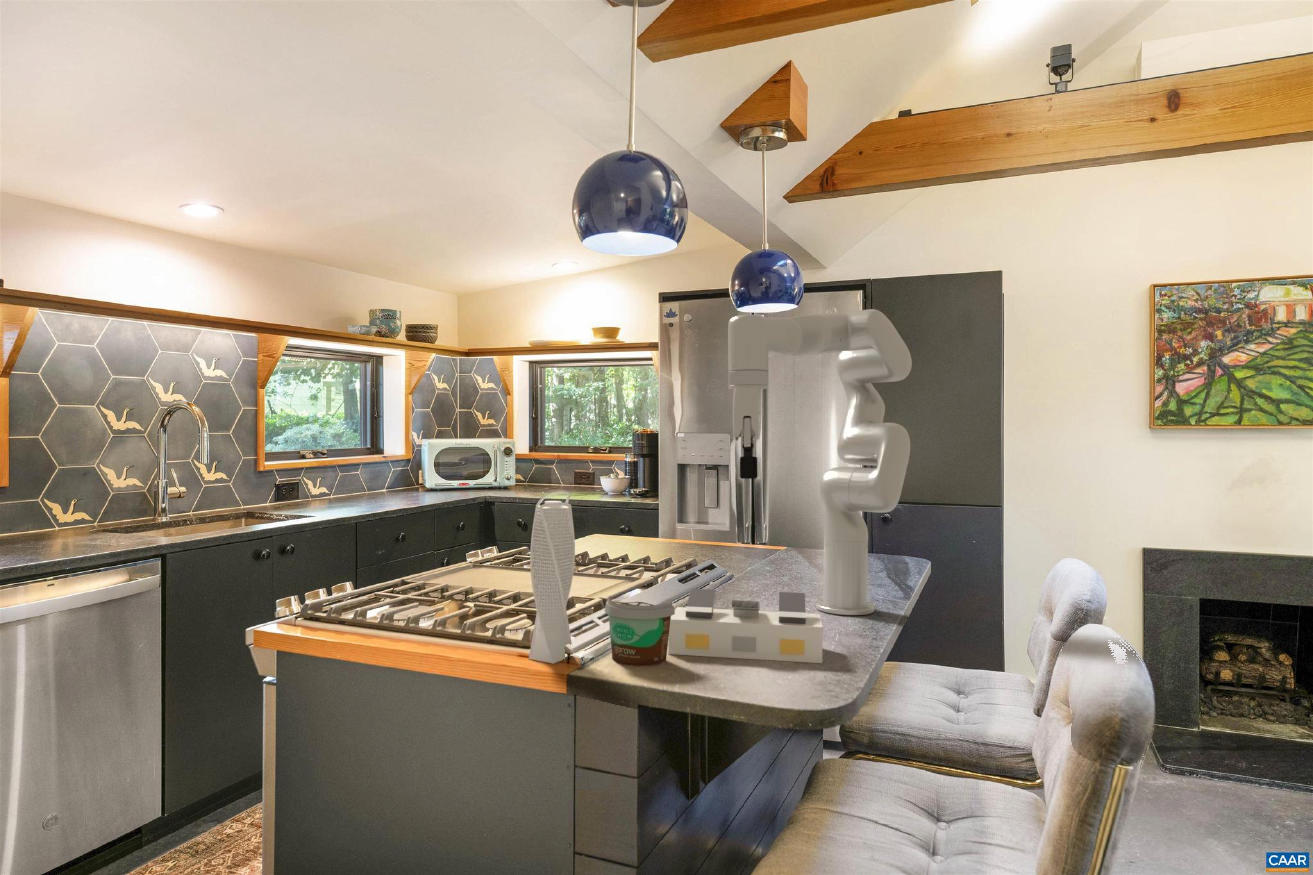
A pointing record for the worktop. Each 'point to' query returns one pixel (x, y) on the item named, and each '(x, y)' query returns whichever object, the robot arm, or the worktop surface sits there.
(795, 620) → the switch
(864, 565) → the robot arm
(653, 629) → the food container
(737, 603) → the switch
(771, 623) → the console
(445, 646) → the worktop surface
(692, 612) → the switch
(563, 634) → the skyscraper
